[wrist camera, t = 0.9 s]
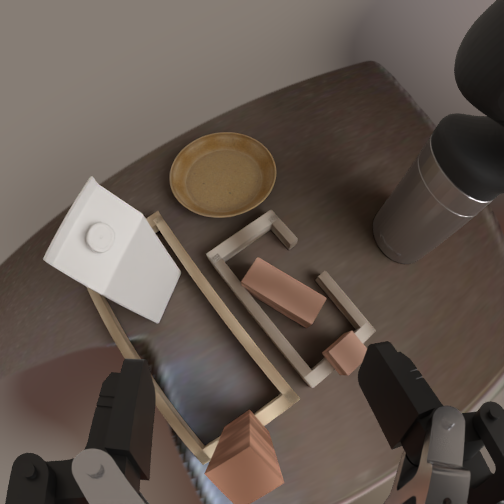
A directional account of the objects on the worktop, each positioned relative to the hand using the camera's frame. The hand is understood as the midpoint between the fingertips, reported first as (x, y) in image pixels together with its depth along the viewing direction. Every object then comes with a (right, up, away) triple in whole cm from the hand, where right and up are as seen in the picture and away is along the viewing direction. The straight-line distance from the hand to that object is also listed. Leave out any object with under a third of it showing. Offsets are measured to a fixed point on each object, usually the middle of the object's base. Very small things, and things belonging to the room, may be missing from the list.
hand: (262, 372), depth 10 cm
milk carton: (-14, 0, +26) cm, 29 cm away
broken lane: (+4, -2, +25) cm, 26 cm away
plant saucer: (-4, +14, +32) cm, 35 cm away
